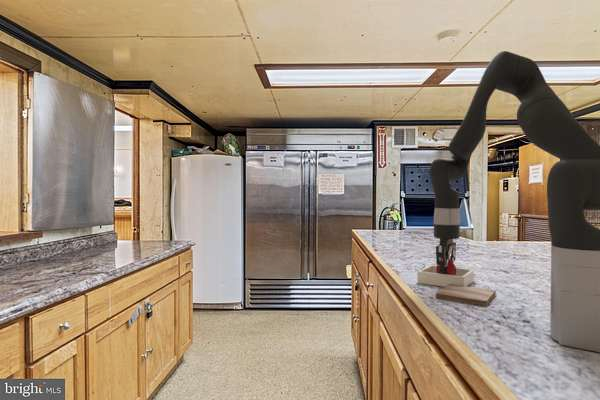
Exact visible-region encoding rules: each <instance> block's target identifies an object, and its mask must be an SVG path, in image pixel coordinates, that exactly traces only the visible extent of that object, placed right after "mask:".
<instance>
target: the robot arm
mask: <svg viewBox="0 0 600 400" xmlns="http://www.w3.org/2000/svg"><path fill="white" fill-rule="evenodd" d="M495 90H497V91H500V92H503V93H506V94H510V95H513V96H514V97H515V98H516V99H517V100H518V101H519V102H520V104H519V107H518V108H517V110H516V111H517V113H516V120H517V123H518V125H519V127H520V129H521V131H522V132H523V134H524V135H525V137H526V139H527V140H528V141H529V142H530V143H532V145H534V146H536V147H537V148H539V149H540V150H542V151H543V152H545V153H548V154H550V155H551V156H554V157H555V158H557V159H559V160H558V161H556V162H555V163H554V164H553V165H552V166H551V168H550V169H549V172H548V174H547V181H546V199H547V200H546V201H547V215H548V216H547V218H548V219H547V223H548V230H549V234H550V238H551V239H550V240H551V241H550V248H551V249H550V305H549V306H550V309H549V310H550V313H549V314H550V318H549V319H550V320H549V321H550V325H549V327H550V329H549V330H550V333H549V334H550V337H551V339H553V340H554V341H556V342H557V343H558V344H559V345H561V346H566V347H571V348H576V349H582V350H587V351H593V352H597V353H600V228H599V227H596V226H594V225H592V224H591V223H590V222H589V221H587V219H586V216H585V211H600V143H598V142H597V141H596V140H595V139H594V138H593V137H592V136H591V135H590V134H589V133H588V131H586V129H585V128H584V127H583V126H582V125H581V123H580V122H579V121H578V120H577V119H576V117H575V116H574V115H573V113H572V112H571V110H570V109H569V108H568V106H566V104H565V103H564V102H563V100H562V99H561V98H560V97H559V96H558V95H557V94H556V93H555V91H554V90H553V89H552V87H550V85H549V84H548V82H547V80H546V79H545V77H544V75H543V73H542V71H541V69H540V67H539V65H538V64H537V63H536V62H535V61H534V60H533V59H531V58H528V57H525V56H522V55H520V54H516V53H514V52H511V51H506V50H503V51H500V52H498V53H497V54H495V55H494V56H493V57H492V58H491V60H490V61H489V63H488V65H487V66H486V68H485V70H484V72H483V74H482V77H481V79H480V81H479V83H478V86H477V87H476V90H475V92H474V95H473V97H472V100H471V102H470V105H469V107H468V109H467V112H466V114H465V115H464V119H463V120H462V122H461V124H460V126H459V127H458V129H457V130H456V132H455V134H454V136H453V137H452V139H451V140H450V142H449V144H448V151H449V153H451V155H452V156H451V158H444V157H443V158H442V157H441V158H440V157H438V158H436V159H434V160H433V161H432V163H431V164H430V167H429V178H430V181H431V186H432V190H433V193H434V213H433V237H434V238H435V239H439V244H437V245H436V246H435V255H436V256H435V257H436V259H435V260H436V261H435V263H436V266H437V265H438V266H439V274H446V275H447V266H448V260H450V261H451V262H453V263H455V261H456V259H457V258H456V256H457V255H456V252H457V251H456V249H457V242H456V241H454V240H458V239H460V236H461V235H460V233H461V232H460V231H461V230H460V228H461V227H460V225H461V224H460V223H461V218H460V217H461V214H460V209H459V208H460V194H459V191H458V190H456V189H455V188H454V189H453V188H452V187H451V185H450V182H457V181H459V180H460V179H461V180H462V178H463V177H464V176H465V174H466V172H467V170H468V168H469V167H468V166H469V163H470V162H471V158H472V154H473V153H474V151H475V150H476V149H477V147H478V145H479V144H480V142H481V141H482V139H483V138H484V135H485V132H486V129H487V110H488V103H489V101H490V98H491V97H492V95H493V94H494V92H495ZM441 260H443V261H441Z"/></svg>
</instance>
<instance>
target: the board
mask: <svg viewBox="0 0 600 400" xmlns="http://www.w3.org/2000/svg"><path fill="white" fill-rule="evenodd" d="M496 293H497V292H496V290H494V289H488V288H480V287H473V286H467V287H466V286H459V285H451V284H449V285H447V286H446V287H444V286H443V288H441V289H440V290H438V291H437V292H436V293H435V299H439V300H447V301H453V302H457V301H460V302H459V303H464V302H467V303H466V304H470V303H473V304H472V305H476V304H478V305H477V306H482V305H483V306H482V307H487V306H488V305H489V304H490V302H491V301H492V300H493V299H494V298H495V296H496ZM493 297H494V298H493Z"/></svg>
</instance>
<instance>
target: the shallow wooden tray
mask: <svg viewBox="0 0 600 400" xmlns="http://www.w3.org/2000/svg"><path fill="white" fill-rule="evenodd" d="M436 267H437V265H434V264H433V265H432V264H430V265H428V266H427V267H423V268H421V269H420V270H417V275H416V276H417V277H416V278H417V279H416V280H417V284H423V285H431V286H437V287H443V288H444V287H446V286H447V285H449V284H451V285H459V286H466V287H469V286H470V285H471V284H473V282H475V269H470V268H469V269H468V268H461V267H456V274H455V276H454V275H446V274H438V273H436ZM469 284H470V285H469ZM468 285H469V286H468Z"/></svg>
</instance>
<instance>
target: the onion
mask: <svg viewBox="0 0 600 400" xmlns="http://www.w3.org/2000/svg"><path fill="white" fill-rule="evenodd" d="M441 261H443V259H442V260H441ZM454 263H455V262H454ZM454 263H453V262H451V261H450V260H448V266H447V275H454V276H455V274H456V268H457V267H456V265H455V264H454ZM436 266H437V267H436V273H438V274H439V266H438V265H437V264H436Z"/></svg>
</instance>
